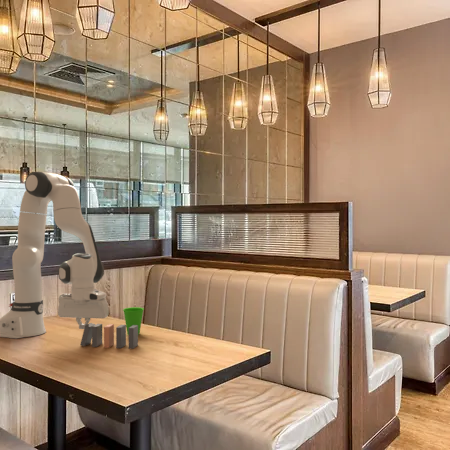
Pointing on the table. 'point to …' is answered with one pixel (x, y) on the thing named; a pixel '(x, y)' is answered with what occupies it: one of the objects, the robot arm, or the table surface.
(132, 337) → the domino
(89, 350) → the table surface
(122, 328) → the domino
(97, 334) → the domino
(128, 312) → the cup
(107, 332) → the domino
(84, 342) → the domino
